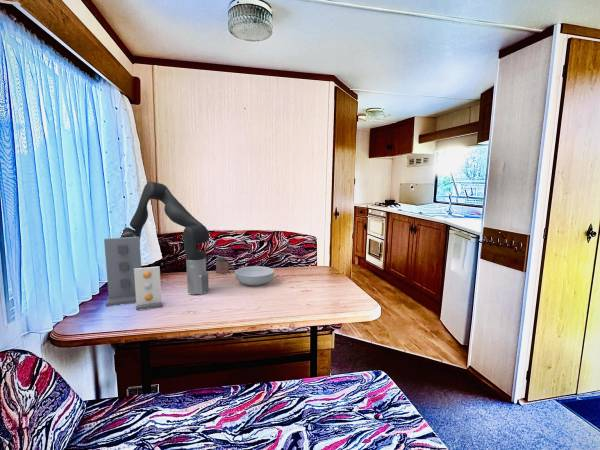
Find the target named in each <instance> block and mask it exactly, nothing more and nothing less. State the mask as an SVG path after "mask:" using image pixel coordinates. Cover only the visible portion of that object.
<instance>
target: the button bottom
mask: <svg viewBox="0 0 600 450" xmlns="http://www.w3.org/2000/svg"><path fill="white" fill-rule="evenodd" d="M120 283H121V288H128V287H130V284H129V279H127V280H120Z"/></svg>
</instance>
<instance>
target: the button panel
mask: <svg viewBox="0 0 600 450" xmlns="http://www.w3.org/2000/svg"><path fill="white" fill-rule="evenodd" d="M103 241H104V254H105V255H104V256H105V267H106V278H107V291H108V293H107V294H108V297H107V300H106V302H105V307H114V305H116V306H121V305H120V304H124V305H127V304H126V303H131V304H134V303H133V302H136V292H135V278H134V269H137V268H142V257H141V256H142V255H141V237H140V238H139V237H125V238H120V237H109V238H104V239H103ZM123 245H127V253H124V254H118V246H123ZM127 262H128V270H127V271H120V270H119V263H127ZM127 279H129V284H130V287H128V288H121V283H120V280H127Z"/></svg>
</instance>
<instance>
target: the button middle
mask: <svg viewBox="0 0 600 450" xmlns="http://www.w3.org/2000/svg"><path fill="white" fill-rule="evenodd" d="M119 270H120V271H127V270H128V262H127V263H119Z"/></svg>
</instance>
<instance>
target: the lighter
mask: <svg viewBox="0 0 600 450" xmlns="http://www.w3.org/2000/svg"><path fill="white" fill-rule="evenodd" d="M215 268H216V269H215V270H216V272H215V274H216V273H223V274H222V275H225V274H224V273H229V274H230V261H229V260H228V257H224V256H221V257H220V256H217V257H216V260H215Z"/></svg>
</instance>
